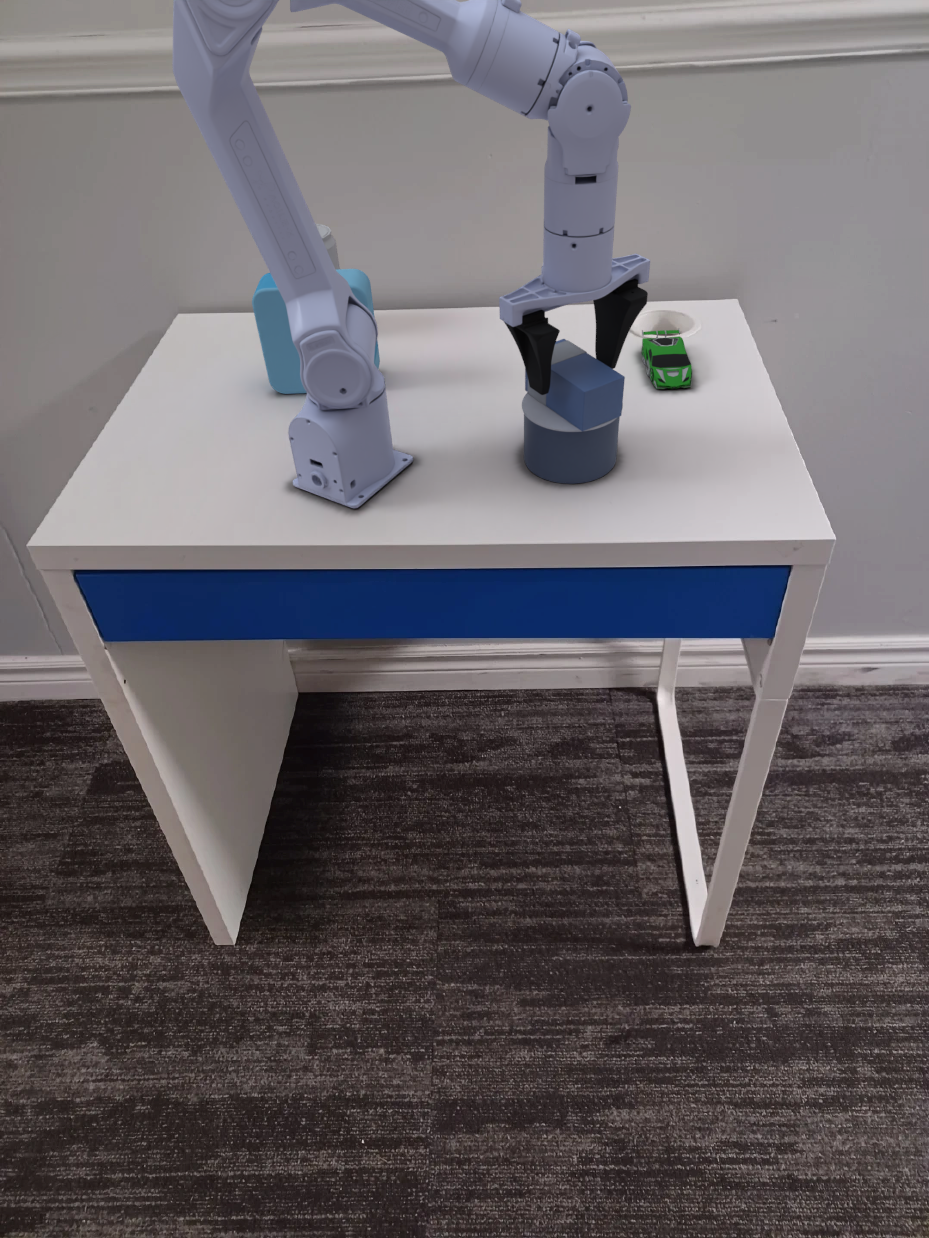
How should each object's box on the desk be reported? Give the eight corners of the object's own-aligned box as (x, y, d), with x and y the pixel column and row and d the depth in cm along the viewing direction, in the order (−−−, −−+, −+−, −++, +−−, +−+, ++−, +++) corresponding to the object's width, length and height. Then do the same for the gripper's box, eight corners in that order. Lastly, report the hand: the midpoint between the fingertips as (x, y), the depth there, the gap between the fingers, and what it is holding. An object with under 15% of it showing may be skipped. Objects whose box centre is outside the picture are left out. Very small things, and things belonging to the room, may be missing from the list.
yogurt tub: (590, 496, 82) (593, 440, 78) (504, 468, 86) (502, 413, 82) (634, 447, 88) (639, 393, 84) (551, 423, 92) (552, 370, 88)
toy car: (696, 389, 95) (698, 370, 94) (652, 391, 96) (654, 372, 94) (679, 346, 103) (681, 327, 101) (638, 348, 103) (639, 329, 101)
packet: (581, 432, 79) (584, 391, 77) (524, 391, 85) (524, 351, 82) (622, 416, 81) (625, 375, 78) (563, 377, 87) (564, 337, 84)
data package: (381, 371, 102) (368, 267, 94) (378, 391, 99) (364, 285, 90) (278, 375, 102) (256, 272, 94) (271, 395, 99) (248, 290, 91)
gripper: (617, 191, 77) (607, 338, 86) (477, 231, 72) (482, 383, 81) (672, 214, 73) (656, 366, 82) (527, 258, 67) (527, 416, 77)
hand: (572, 377), depth 81 cm, fingers open, 7 cm apart
